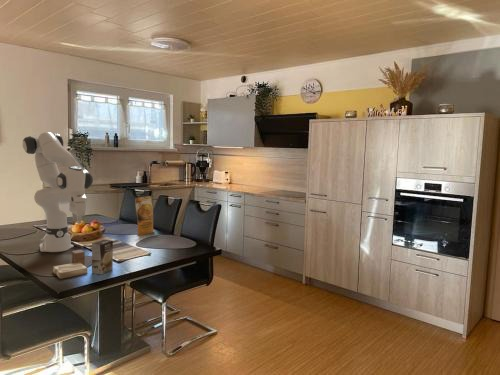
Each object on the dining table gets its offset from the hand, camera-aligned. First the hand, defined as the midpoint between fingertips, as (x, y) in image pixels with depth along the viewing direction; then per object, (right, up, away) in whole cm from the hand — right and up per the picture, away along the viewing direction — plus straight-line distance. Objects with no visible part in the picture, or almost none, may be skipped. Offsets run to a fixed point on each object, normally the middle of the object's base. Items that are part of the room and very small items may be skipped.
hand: (77, 221), depth 202 cm
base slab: (0, -26, -8) cm, 27 cm away
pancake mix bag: (+14, -16, +79) cm, 82 cm away
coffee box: (+15, -26, -4) cm, 31 cm away
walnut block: (-1, -24, +3) cm, 25 cm away
